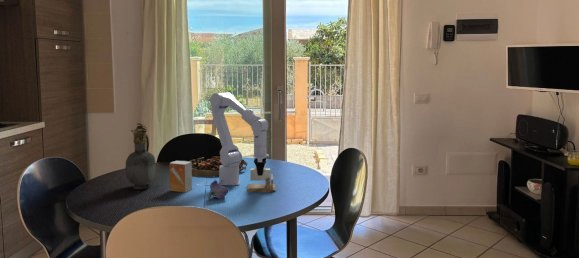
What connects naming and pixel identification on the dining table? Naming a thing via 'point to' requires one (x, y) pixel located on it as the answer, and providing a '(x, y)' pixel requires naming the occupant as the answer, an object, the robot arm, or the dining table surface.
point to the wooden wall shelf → (262, 186)
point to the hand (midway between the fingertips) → (260, 174)
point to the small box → (180, 176)
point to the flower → (217, 190)
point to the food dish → (210, 167)
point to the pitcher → (140, 160)
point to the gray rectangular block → (255, 176)
